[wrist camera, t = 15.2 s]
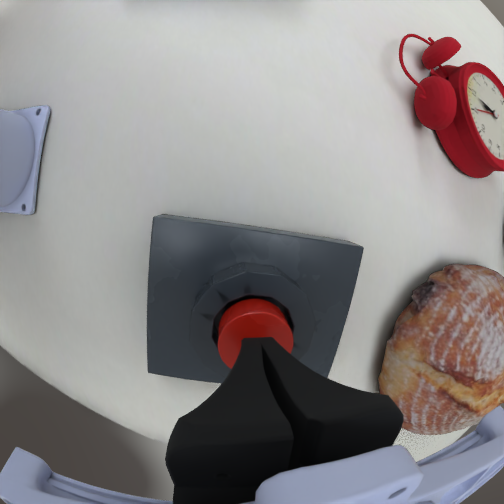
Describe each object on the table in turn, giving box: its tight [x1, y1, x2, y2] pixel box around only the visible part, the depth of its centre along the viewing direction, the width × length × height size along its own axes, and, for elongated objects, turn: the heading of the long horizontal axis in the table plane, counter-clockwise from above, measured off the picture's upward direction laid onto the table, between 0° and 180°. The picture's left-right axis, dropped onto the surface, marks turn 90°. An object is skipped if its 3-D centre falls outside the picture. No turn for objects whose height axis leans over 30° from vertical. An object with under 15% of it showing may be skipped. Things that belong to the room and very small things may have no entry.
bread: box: [378, 264, 504, 435], centre depth 16 cm, size 16×20×10 cm
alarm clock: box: [399, 34, 504, 178], centre depth 14 cm, size 10×6×15 cm
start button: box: [218, 299, 293, 369], centre depth 13 cm, size 4×4×2 cm
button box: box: [147, 214, 364, 383], centre depth 16 cm, size 12×10×4 cm
